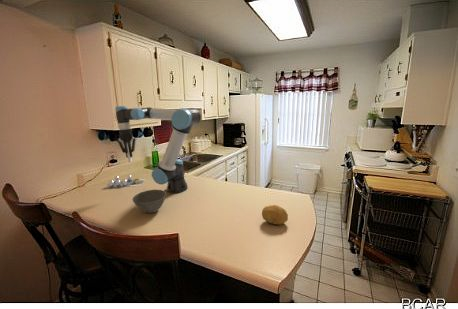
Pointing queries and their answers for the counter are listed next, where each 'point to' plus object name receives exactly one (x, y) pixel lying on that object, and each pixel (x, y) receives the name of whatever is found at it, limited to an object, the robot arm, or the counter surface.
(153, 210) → the bowl
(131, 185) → the mat
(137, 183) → the nut
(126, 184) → the spacers
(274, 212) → the potato
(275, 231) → the counter surface
